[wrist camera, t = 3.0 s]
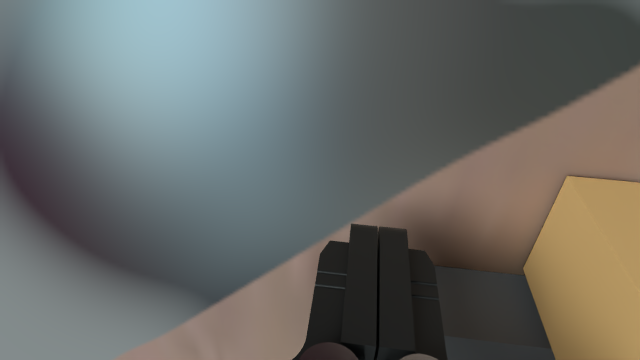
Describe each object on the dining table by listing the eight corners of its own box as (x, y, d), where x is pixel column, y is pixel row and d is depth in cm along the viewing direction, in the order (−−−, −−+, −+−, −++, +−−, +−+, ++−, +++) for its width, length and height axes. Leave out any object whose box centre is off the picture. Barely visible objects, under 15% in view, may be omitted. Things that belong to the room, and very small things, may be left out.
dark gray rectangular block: (837, 303, 14) (937, 396, 12) (764, 362, 17) (834, 451, 14) (429, 259, 15) (439, 335, 13) (413, 320, 18) (418, 395, 15)
